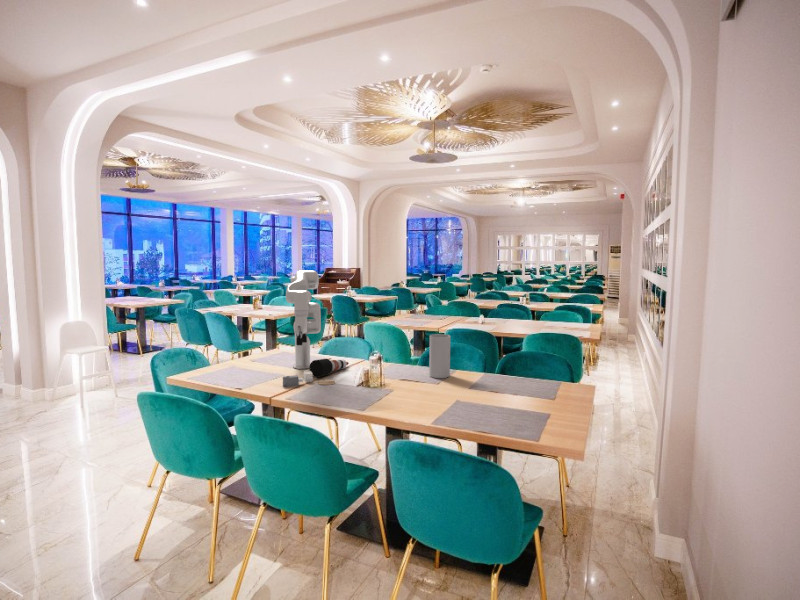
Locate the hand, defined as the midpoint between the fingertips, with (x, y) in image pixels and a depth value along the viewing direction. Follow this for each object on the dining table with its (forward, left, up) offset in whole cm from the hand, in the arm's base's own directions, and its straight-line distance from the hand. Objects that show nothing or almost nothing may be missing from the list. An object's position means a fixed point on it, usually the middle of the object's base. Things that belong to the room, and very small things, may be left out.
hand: (301, 343), depth 255 cm
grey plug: (-2, -5, -24) cm, 24 cm away
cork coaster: (0, +14, -24) cm, 27 cm away
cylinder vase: (+9, +82, -24) cm, 86 cm away
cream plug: (-8, +5, -24) cm, 25 cm away
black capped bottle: (-24, +23, -24) cm, 41 cm away
